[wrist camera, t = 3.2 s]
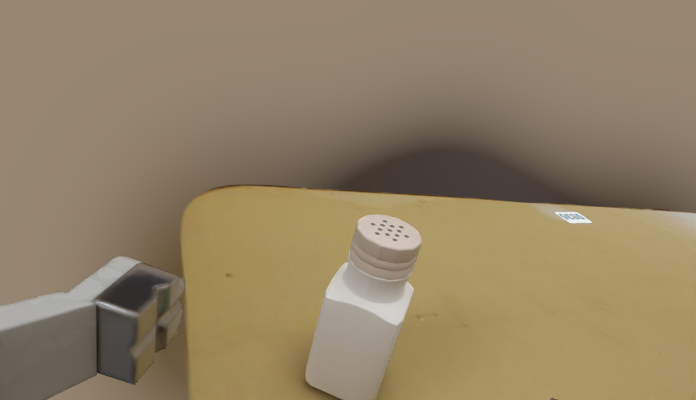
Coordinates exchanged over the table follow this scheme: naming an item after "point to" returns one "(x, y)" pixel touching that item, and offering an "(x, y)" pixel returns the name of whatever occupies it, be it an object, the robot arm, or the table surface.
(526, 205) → the table surface
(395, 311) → the pepper shaker
